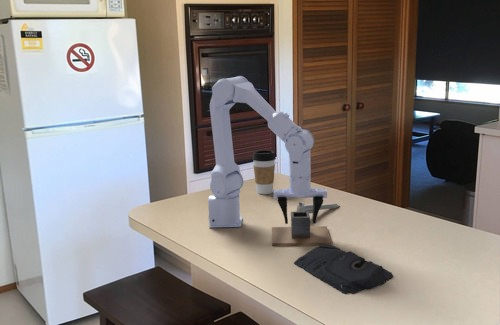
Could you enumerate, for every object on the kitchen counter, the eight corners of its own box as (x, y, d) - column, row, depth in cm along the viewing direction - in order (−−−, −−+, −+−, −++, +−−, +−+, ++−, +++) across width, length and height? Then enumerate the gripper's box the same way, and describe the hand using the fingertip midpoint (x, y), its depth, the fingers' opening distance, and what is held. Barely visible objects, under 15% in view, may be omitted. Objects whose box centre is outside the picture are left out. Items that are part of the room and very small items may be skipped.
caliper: (299, 223, 158) (299, 203, 157) (296, 222, 159) (296, 203, 158) (339, 206, 172) (339, 188, 171) (336, 206, 173) (337, 187, 171)
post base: (271, 248, 142) (271, 231, 141) (271, 231, 154) (271, 215, 152) (331, 247, 141) (331, 230, 140) (326, 231, 153) (326, 214, 152)
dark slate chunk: (334, 249, 140) (335, 233, 138) (399, 281, 122) (399, 262, 120) (288, 264, 132) (288, 247, 130) (350, 300, 114) (350, 280, 112)
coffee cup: (251, 195, 186) (250, 153, 182) (255, 188, 194) (254, 148, 190) (274, 195, 184) (274, 154, 181) (277, 188, 193) (277, 148, 189)
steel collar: (291, 238, 144) (291, 217, 143) (290, 231, 149) (290, 211, 148) (309, 238, 144) (309, 217, 143) (308, 231, 149) (308, 211, 148)
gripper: (273, 179, 139) (274, 228, 143) (328, 178, 139) (328, 227, 142) (273, 172, 146) (273, 218, 149) (325, 171, 146) (325, 218, 149)
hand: (300, 222), depth 146 cm, fingers open, 7 cm apart
